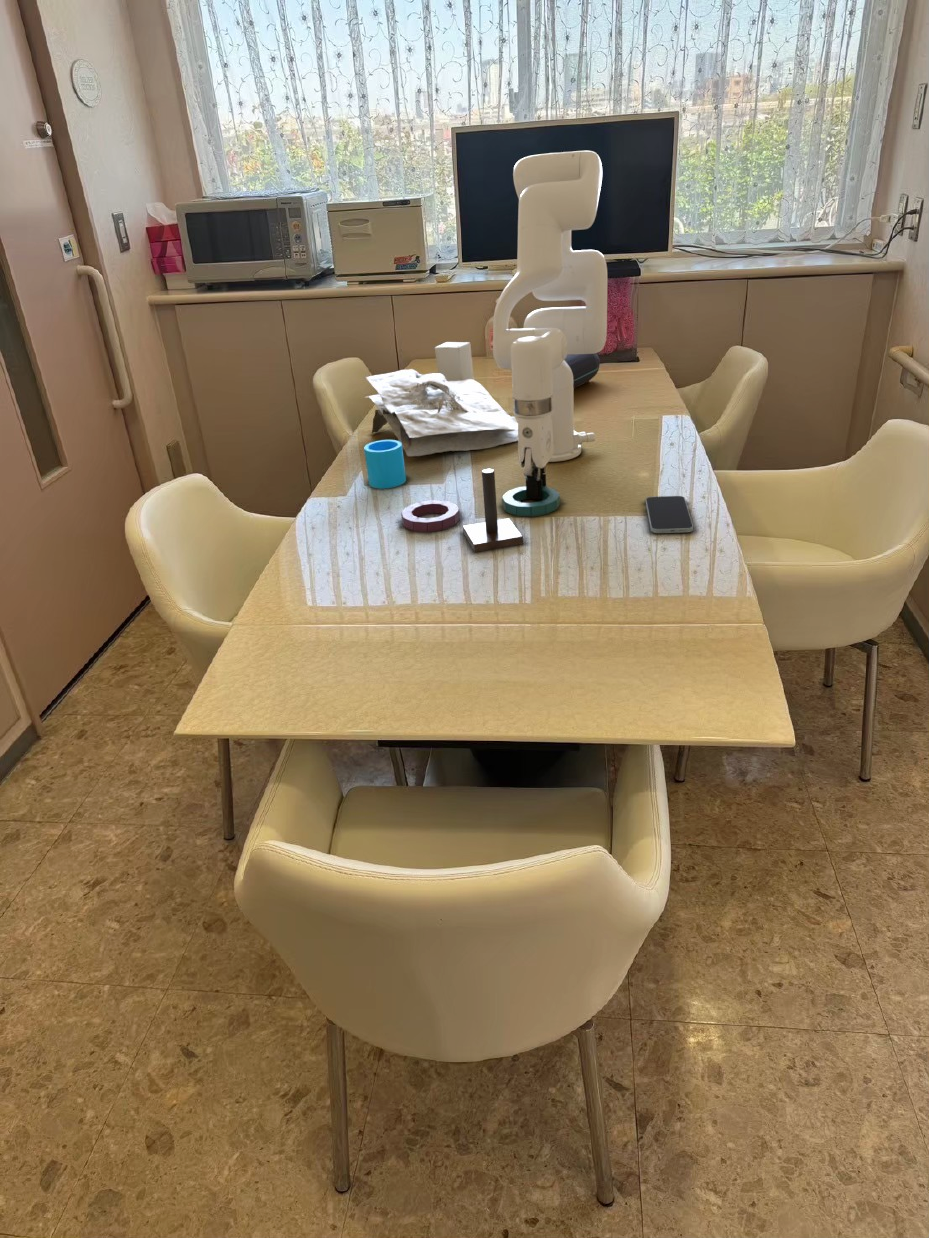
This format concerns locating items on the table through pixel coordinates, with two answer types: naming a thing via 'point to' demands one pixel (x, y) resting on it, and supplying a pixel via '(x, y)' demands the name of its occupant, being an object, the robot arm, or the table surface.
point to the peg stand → (491, 522)
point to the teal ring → (530, 509)
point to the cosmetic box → (454, 361)
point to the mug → (385, 464)
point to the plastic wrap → (439, 413)
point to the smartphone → (668, 514)
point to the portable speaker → (582, 367)
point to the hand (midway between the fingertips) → (536, 494)
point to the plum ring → (430, 524)
